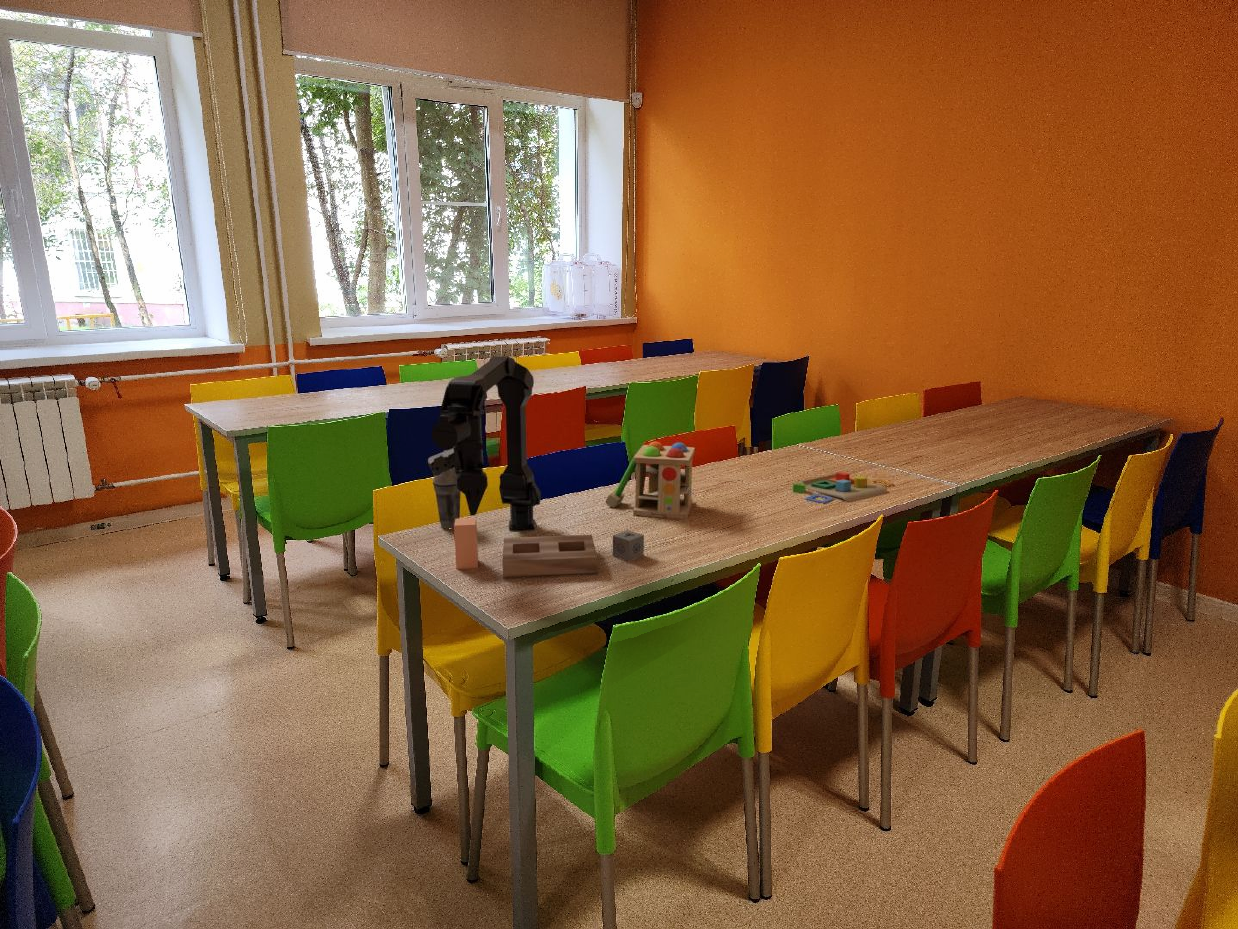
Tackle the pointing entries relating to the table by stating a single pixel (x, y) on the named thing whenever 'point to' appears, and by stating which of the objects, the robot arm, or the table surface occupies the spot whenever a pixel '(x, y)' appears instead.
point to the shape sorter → (841, 487)
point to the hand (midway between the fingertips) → (471, 508)
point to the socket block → (549, 556)
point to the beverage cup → (447, 498)
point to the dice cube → (628, 545)
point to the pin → (466, 543)
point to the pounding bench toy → (659, 481)
